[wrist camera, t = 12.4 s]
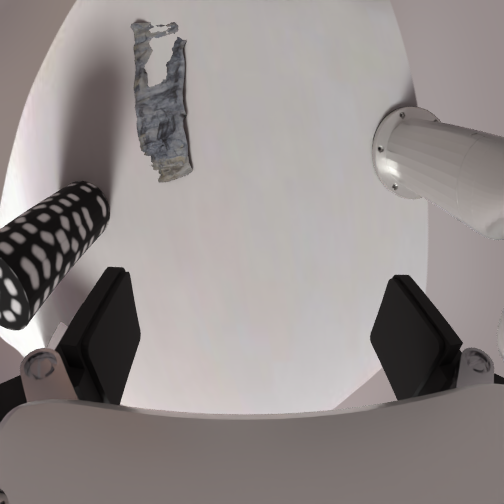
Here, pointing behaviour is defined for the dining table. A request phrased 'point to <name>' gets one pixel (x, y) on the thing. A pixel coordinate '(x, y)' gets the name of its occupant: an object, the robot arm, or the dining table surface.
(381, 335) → the robot arm
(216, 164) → the dining table surface
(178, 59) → the driftwood
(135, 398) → the dining table surface
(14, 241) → the white-spotted black cylinder
